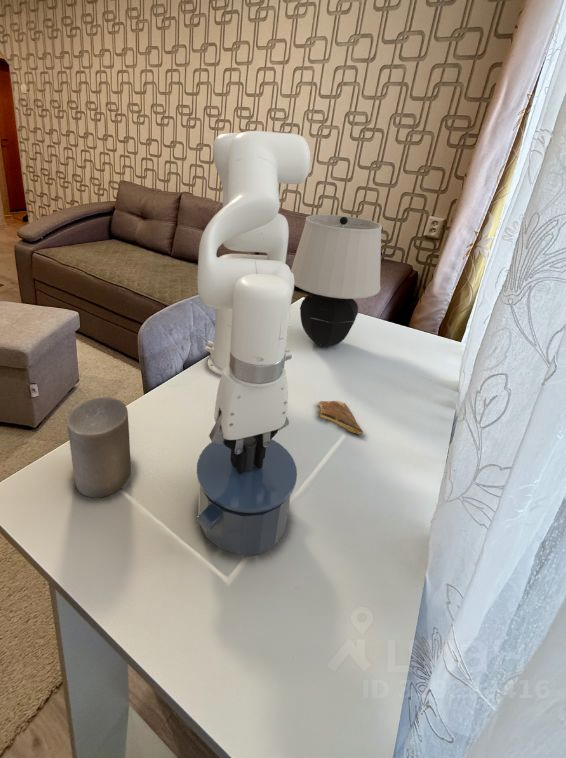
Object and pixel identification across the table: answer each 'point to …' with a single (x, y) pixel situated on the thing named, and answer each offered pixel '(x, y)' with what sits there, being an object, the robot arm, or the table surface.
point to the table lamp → (336, 273)
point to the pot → (241, 526)
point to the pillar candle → (99, 446)
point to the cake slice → (339, 415)
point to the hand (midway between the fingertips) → (247, 463)
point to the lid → (247, 477)
